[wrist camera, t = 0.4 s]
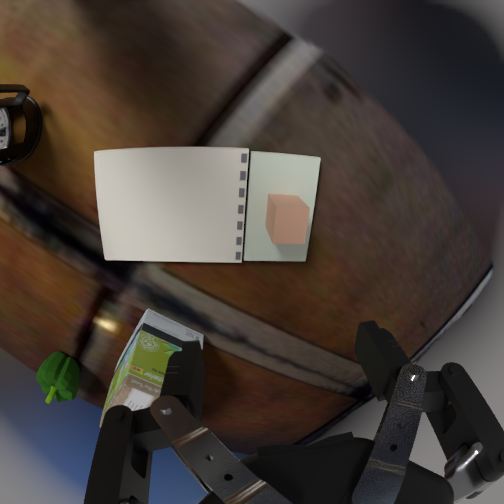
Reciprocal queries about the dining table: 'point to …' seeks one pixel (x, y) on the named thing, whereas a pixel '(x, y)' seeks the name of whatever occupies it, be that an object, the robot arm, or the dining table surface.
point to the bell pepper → (59, 377)
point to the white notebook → (172, 203)
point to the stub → (280, 206)
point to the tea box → (146, 361)
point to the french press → (3, 152)
